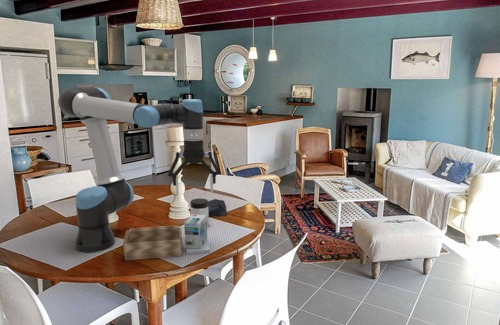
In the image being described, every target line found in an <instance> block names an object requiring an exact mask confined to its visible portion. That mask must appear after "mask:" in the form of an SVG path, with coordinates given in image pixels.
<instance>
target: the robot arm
mask: <svg viewBox="0 0 500 325" xmlns="http://www.w3.org/2000/svg"><path fill="white" fill-rule="evenodd" d="M202 101H203V100H201V99H198V98H194V99H193V98H192V99H191V98H185V99H183V100H182V103H179V104H177V103H158V104H156V105H155V104H153V105H151V104H144V103H143V104H142V103H136V102H130V101H124V100H123V101H122V100H116V99H111V97H110V95H109V93H108V92H107V91H105V90H104V89H103V88H101V87H95V86H86V87H83V86H81V87H76V86H75V87H69V88H66V89H64V90H62V92H61V93H60V94H59V96H58V100H57V103H58V107H59V110H60V111H61V112H62V113H64V114H65V115H66V116H69V117H77V118H79V120H80V122H81V123H82V124H83V125H84V126H85V129H86V132H87V136H88V140H89V144H90V148H91V152H92V156H93V161H94V163H95V167H96V171H97V175H98V178H99V180H98V181H97V183H96V185H95V186H91V187H86V188H84V189H81V190H80V191H78V192H77V194H75V195H76V196H75V207H76V218H77V224H78V226H77V227H78V228H77V234H76V236H75V243H74V244H75V245H74V247H75V249H76V251H78V252H81V253H96V252H100V251H104V250H107V249H110V248H112V247H113V245H115V244H116V239H115V234H114V233H113V230H112V228H111V226H110V219H109V218H110V217H109V216H110V215H112V214H114V213H116V212H119V211H122V210H124V209H125V208H127V207H128V206H130V205H131V204H132V202H133V200H134V194H135V193H134V189H133V187H132V185H131V184H130V183H129V182H127V181H126V178H125V177H124V176H122V175H121V174H120V170H119V166H118V162H117V157H116V154H115V151H114V150H115V149H114V147H113V142H112V138H111V133H110V131H109V126H108V122H107V120H109V121H110V120H111V121H116V122H117V121H118V122H122V123H128V124H133V125H134V124H136V125H138V126H139V127H141V128H153V127H157V126H163V125H168V124H179V125H183V139H184V140H183V152H180V151H176V152H175V158H174V160H173V162H172V164H171V166H170V168H169V170H168V172H167V176H168V177H171V178H172V185H173V186H174V187H175V190H176V193H175V194H176V195H179V177H178V175H180V172H181V171H182V170H183V169H184V168H185V167H186V166H187V165H188V164H200V163H201V164H202V166H204V168H206V170H207V171H208V172H209V173H210V175H209V176H210V177H209V179H210V181H209V182H210V187H209V188H210V192H211V193H214V185H215V184H216V180H217V179H216V177H217V175H220V174H221V171H220V170H219V168H218V166H217V164H216V162H215V160H214V158H213V155H212V154H213V153H212V151H211V150H208V151H204V140H203V139H204V126H203V125H204V124H203V123H204V122H203V120H204V119H203V118H204V116H203V115H204V109H203V102H202ZM205 156H206V158H208V159H209V161H210V163H211V164H212V167H213V168H214V169H215V170H213V169H212V168H211V167H210V166H209V165H208V163H207V162H206V161H205V160H204V157H205ZM182 157H183V158H184V159H183V161H182V162H181V164H180V165H179V166H178V167H177V169H176V170H175V168H176V166H177V164H178V162H179V159H181V158H182ZM174 170H175V171H174Z"/></svg>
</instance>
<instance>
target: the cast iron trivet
mask: <svg viewBox="0 0 500 325" xmlns="http://www.w3.org/2000/svg"><path fill="white" fill-rule="evenodd" d="M208 213H209V218H210V217H211V218H212V217H214V218H215V217H216V218H217V217H218V218H219V217H225V216H226V217H227V215H228V210H227V206H226V201H225V200H223V199H218V198H217V199H216V198H214V199H211V200H208Z"/></svg>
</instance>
